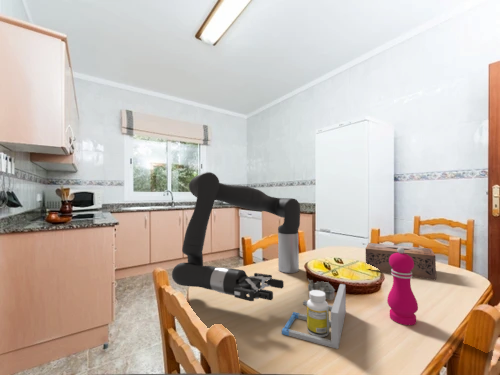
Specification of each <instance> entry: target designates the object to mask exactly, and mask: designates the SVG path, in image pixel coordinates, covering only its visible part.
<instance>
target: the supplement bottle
mask: <svg viewBox="0 0 500 375" xmlns="http://www.w3.org/2000/svg"><path fill="white" fill-rule="evenodd" d="M308 294H309V299H308V300H306V301H307V305H306V315H307V320H306V323H307V325H306V327H307V332H308V334H309V335H313V336H317V337H321V338H324V337H327V336H329V334H330V326H329V320H330V310H329V305H330V304H329V303H328V301H326V300H327V299H326V296H325V293H324V292H323V291H320V290H319V289H316V290H312V291H309V293H308Z"/></svg>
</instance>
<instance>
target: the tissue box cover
mask: <svg viewBox="0 0 500 375" xmlns="http://www.w3.org/2000/svg"><path fill="white" fill-rule="evenodd" d="M400 247H401V248H403V249H404V250H405V252H404V253H405V254H407V255H409V256H410V257H411V258H412V259H413V261H414V268H413V269H412V270H411V272H412V277H413V276H414V277H415V278H420V277H421V279H427V278H428V280H434V279H435V280H437V266H436V261H437V260H436V254H435V253H434V251H433V249H432V248H428V247H427V248H426V247H416V246H408V245H407V246H405V245H397V244H396V245H395V244H387V243H386V244H385V243H374V242H373V243H372V242H368V244H367V245H366V247H365V264H366V263H367V264H370V265H372V266H374V267H376V268H378V269H379V270H380V271H381V273H386V274H387V273H388V274H391V272H392V271H391V269H393V268H392V267H391V266H390V264H389V257H390V256H391V255H392V254H394V253H398V251H397V249H398V248H400Z"/></svg>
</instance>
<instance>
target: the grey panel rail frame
mask: <svg viewBox="0 0 500 375" xmlns="http://www.w3.org/2000/svg"><path fill="white" fill-rule="evenodd" d="M346 296H347V295H346V284H345V283H344V284H343V283H340V284H339V286H338V289H337V292H336V294H335V298H334V302H333V303H332V305H330V304H328V305H329V311H330V319H329V327H330V331H331V332H330V338H331V339H328V338H324V337H317V336H313V335H312V334H310V333H305V332H301V331H297V330H293V329H291V326H292V325H293V323H294V321H295V320H296V319H299V320H304V321H307V314H304V313H299V312H295V311H293V312H292V314H291V316H290V318H289V319H288V320H287V322H286V323H285V325H284V326H283V328H282V329H281V335H283V336H284V335H285V336H288V337H293V338H297V339H301V340H304V341H307V342H311V343H314V344H318V345H323V346H326V347H330V348H333V349H337V350H339V347H340V343H341V338H342V332H343V327H344V323H345V322H344V321H345V318H346V312H347V311H346V310H347V308H346V307H347V306H346V303H347V302H346ZM307 301H308V300H305V299H304V300H303V302H302V303H303V304H302V305H304V306H307Z"/></svg>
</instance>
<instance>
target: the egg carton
mask: <svg viewBox="0 0 500 375" xmlns="http://www.w3.org/2000/svg"><path fill="white" fill-rule="evenodd" d="M307 281H308V284H307V289H308V291H309V292H310V291H312V290H320V291H323V292H324V293H325V296H326V300H328V301H333V300H335V298H336V294H335V291H336V289H335V288H334V286H332V284H330V283H329V281H328V282H324V281H323V280H321V281H318V280H317V281H316V282H314V280H313V279H309V278H307Z"/></svg>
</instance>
